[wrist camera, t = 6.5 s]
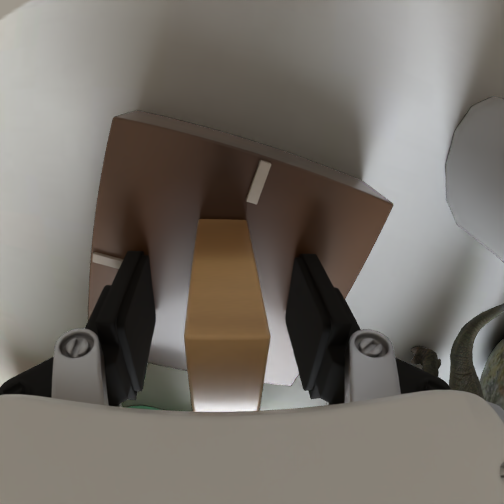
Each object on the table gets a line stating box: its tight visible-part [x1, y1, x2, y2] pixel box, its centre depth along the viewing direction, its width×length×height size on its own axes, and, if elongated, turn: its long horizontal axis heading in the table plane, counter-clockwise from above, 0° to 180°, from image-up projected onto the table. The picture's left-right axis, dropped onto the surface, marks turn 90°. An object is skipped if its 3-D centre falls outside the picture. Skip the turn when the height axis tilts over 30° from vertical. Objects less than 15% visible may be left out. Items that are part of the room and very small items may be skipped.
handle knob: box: [184, 219, 271, 412], centre depth 9 cm, size 6×2×6 cm, turn 176°
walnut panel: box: [88, 110, 393, 386], centre depth 13 cm, size 10×10×3 cm
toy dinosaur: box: [410, 304, 504, 399], centre depth 17 cm, size 22×8×11 cm, turn 151°
